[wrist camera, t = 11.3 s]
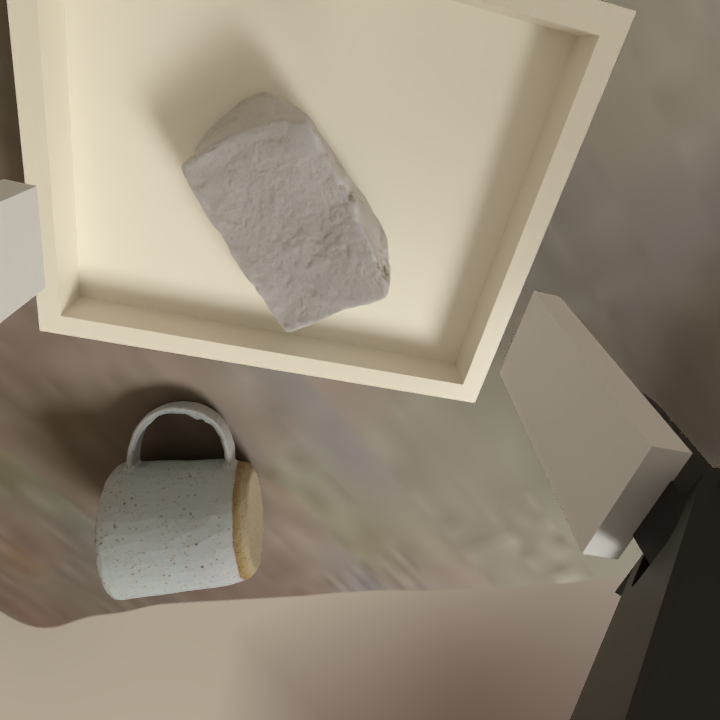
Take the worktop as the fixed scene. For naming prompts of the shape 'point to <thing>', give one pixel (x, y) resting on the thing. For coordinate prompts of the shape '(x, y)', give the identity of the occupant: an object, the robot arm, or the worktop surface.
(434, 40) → the tray
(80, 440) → the worktop surface
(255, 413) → the worktop surface
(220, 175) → the grey rough-textured block
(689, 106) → the worktop surface
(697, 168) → the worktop surface
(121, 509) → the ceramic mug
